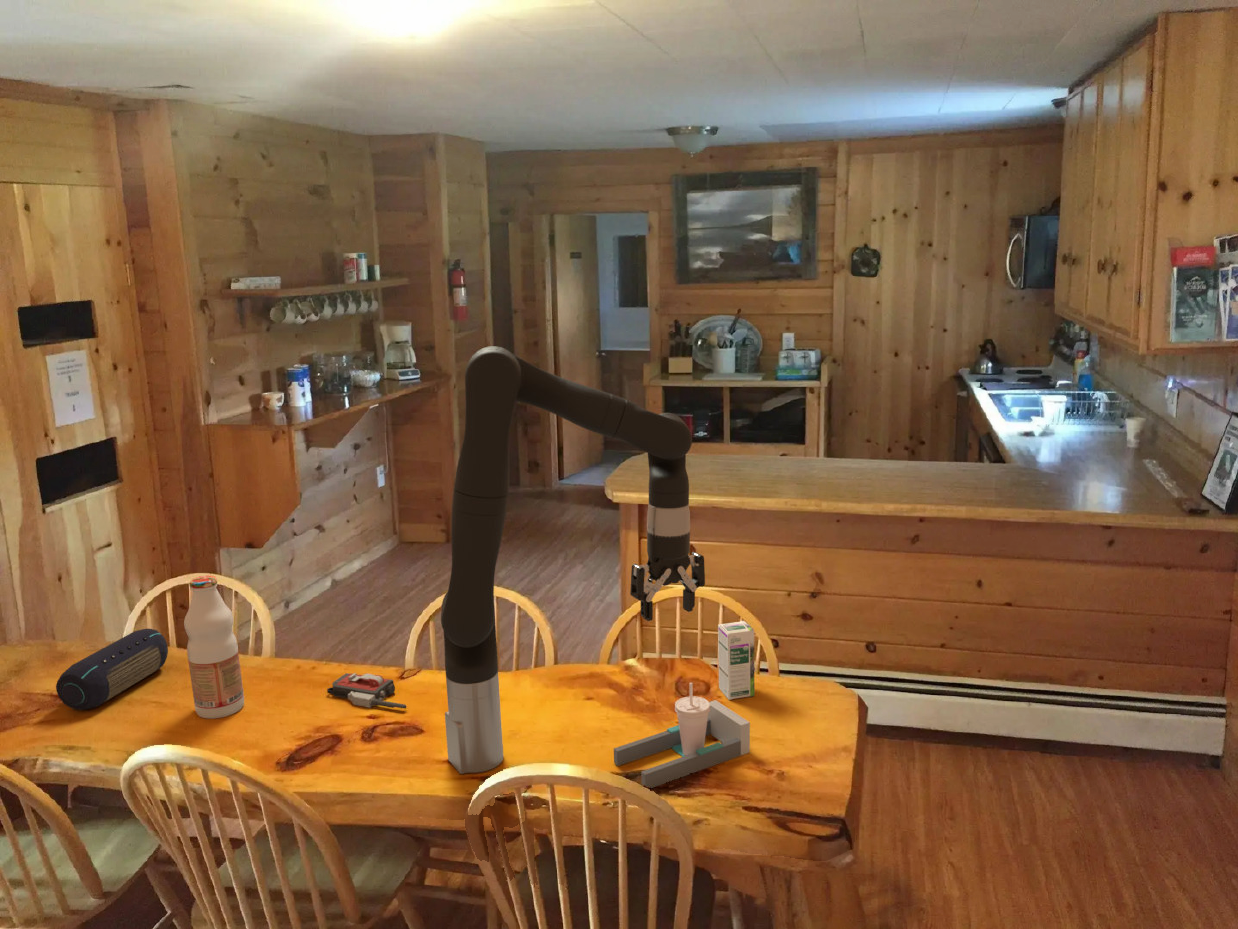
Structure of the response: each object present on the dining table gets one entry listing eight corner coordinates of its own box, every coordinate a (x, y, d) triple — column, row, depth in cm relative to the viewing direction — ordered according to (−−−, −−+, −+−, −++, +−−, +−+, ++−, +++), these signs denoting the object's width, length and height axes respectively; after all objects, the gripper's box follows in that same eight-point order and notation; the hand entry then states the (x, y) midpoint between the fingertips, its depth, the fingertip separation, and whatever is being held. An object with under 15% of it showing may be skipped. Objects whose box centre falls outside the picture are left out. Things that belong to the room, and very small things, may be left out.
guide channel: (645, 790, 171) (644, 759, 170) (613, 763, 180) (612, 733, 179) (749, 752, 182) (750, 722, 181) (715, 728, 191) (715, 699, 190)
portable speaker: (94, 719, 202) (86, 673, 199) (54, 714, 205) (46, 668, 202) (179, 666, 225) (173, 625, 223) (142, 662, 228) (136, 621, 225)
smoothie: (669, 757, 181) (668, 686, 178) (684, 740, 187) (683, 671, 183) (702, 765, 178) (701, 693, 175) (716, 748, 184) (715, 678, 180)
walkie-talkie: (320, 701, 207) (403, 716, 200) (318, 682, 206) (401, 695, 199) (346, 683, 215) (426, 696, 208) (344, 664, 214) (425, 677, 207)
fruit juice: (194, 723, 199) (176, 590, 192) (196, 703, 207) (178, 575, 201) (245, 714, 202) (228, 583, 195) (244, 694, 210) (228, 568, 204)
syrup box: (728, 700, 202) (728, 633, 198) (717, 688, 207) (717, 622, 204) (754, 696, 203) (755, 630, 200) (743, 684, 209) (743, 619, 205)
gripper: (645, 540, 169) (645, 630, 173) (714, 527, 176) (712, 614, 180) (622, 529, 175) (623, 616, 179) (690, 516, 182) (689, 600, 186)
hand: (668, 614), depth 179 cm, fingers open, 8 cm apart
